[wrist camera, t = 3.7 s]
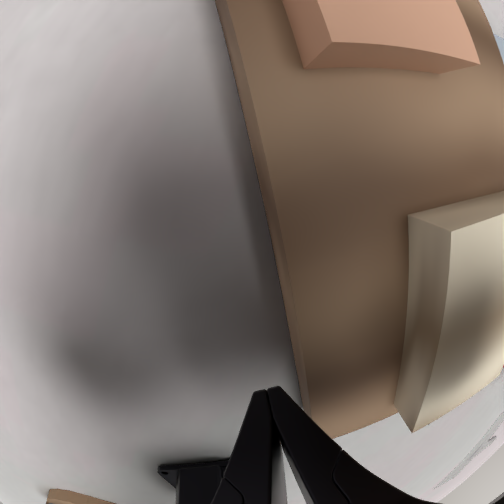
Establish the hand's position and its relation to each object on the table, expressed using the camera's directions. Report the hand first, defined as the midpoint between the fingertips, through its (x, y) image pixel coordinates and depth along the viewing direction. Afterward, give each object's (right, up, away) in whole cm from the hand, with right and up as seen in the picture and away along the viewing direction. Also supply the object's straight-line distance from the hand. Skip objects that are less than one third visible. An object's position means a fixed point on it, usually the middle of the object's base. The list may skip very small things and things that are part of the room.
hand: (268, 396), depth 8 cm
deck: (+6, +7, +2) cm, 9 cm away
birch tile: (+8, +2, +1) cm, 8 cm away
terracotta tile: (+3, +12, -3) cm, 13 cm away
